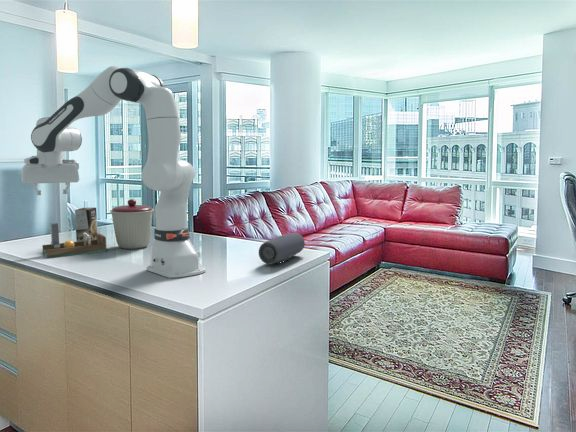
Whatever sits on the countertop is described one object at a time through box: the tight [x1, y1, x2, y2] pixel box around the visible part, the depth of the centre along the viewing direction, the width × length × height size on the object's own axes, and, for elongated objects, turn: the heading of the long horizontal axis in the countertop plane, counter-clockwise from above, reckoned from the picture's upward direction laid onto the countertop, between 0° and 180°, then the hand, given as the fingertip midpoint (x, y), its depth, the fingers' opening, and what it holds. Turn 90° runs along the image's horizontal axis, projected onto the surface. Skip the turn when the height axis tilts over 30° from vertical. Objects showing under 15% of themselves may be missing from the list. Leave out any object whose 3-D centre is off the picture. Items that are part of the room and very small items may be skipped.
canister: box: [109, 198, 155, 250], centre depth 193 cm, size 18×18×21 cm
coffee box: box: [74, 207, 99, 242], centre depth 199 cm, size 9×6×16 cm
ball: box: [63, 239, 75, 248], centre depth 182 cm, size 4×4×4 cm
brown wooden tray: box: [42, 232, 107, 259], centre depth 183 cm, size 12×22×7 cm, turn 126°
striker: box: [50, 222, 60, 249], centre depth 179 cm, size 8×2×11 cm, turn 36°
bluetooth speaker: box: [258, 232, 306, 265], centre depth 171 cm, size 23×9×10 cm, turn 152°
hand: (52, 194), depth 176 cm, fingers open, 8 cm apart
